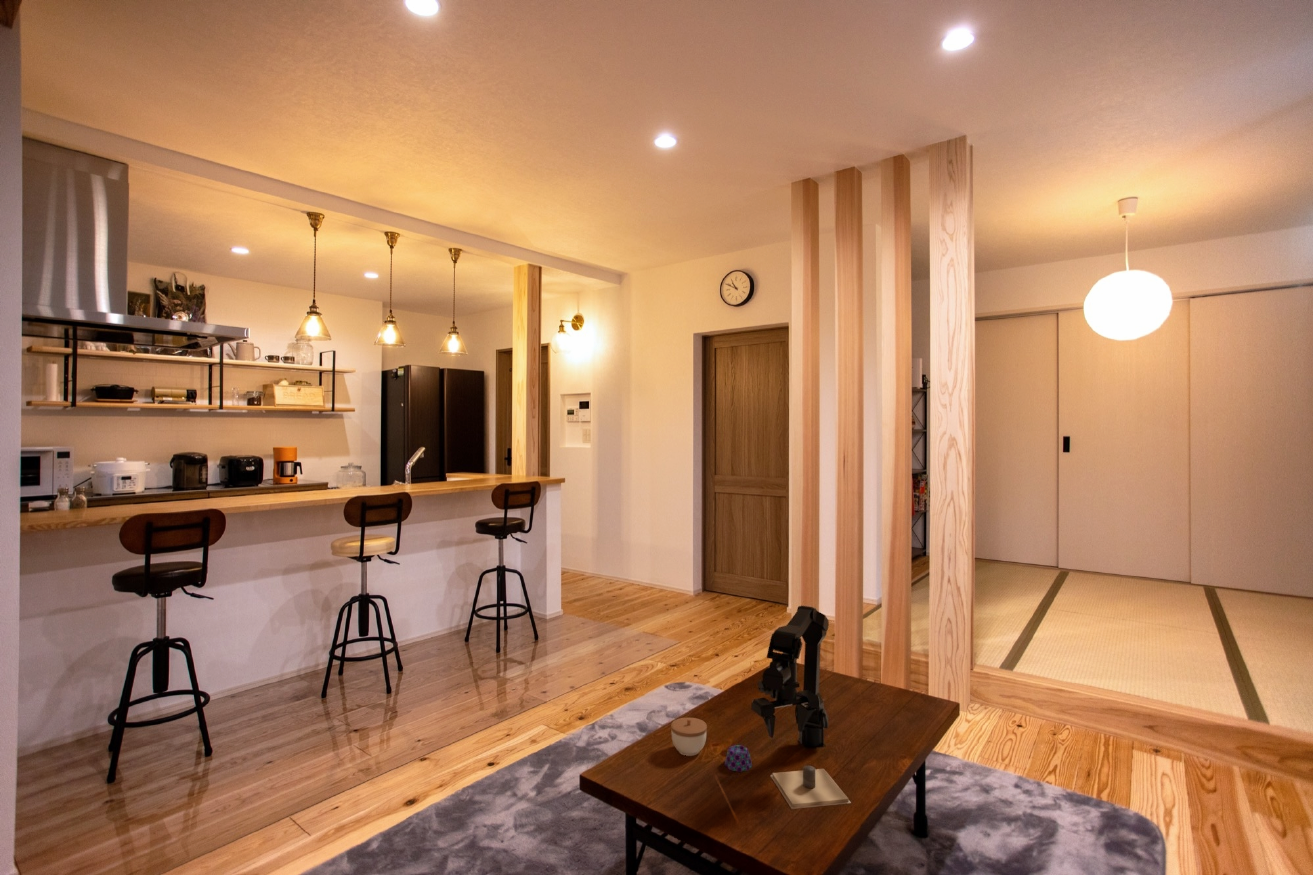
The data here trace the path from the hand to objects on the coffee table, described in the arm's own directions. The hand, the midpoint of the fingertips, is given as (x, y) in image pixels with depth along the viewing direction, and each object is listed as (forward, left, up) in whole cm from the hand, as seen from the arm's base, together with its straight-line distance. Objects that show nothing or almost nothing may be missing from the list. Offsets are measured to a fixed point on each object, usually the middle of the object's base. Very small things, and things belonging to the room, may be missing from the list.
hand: (785, 734), depth 174 cm
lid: (-4, +6, -12) cm, 14 cm away
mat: (-4, +6, -13) cm, 15 cm away
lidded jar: (+23, -20, -13) cm, 33 cm away
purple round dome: (+11, -9, -13) cm, 19 cm away
